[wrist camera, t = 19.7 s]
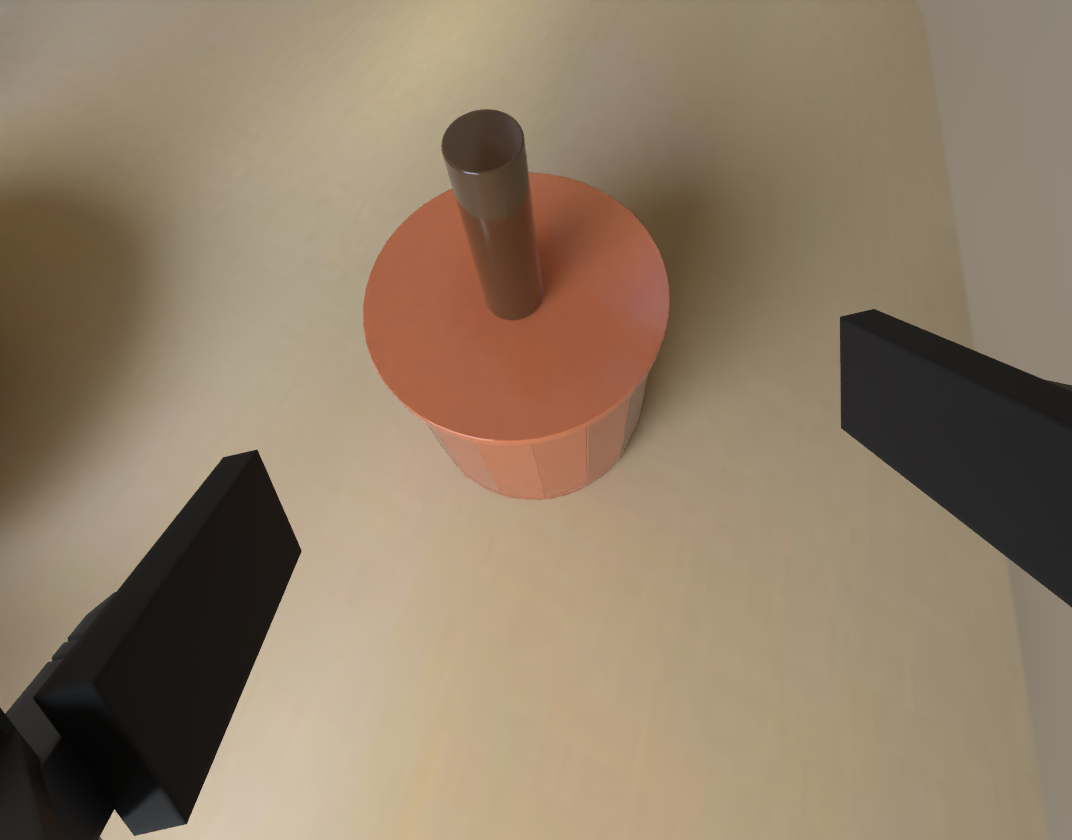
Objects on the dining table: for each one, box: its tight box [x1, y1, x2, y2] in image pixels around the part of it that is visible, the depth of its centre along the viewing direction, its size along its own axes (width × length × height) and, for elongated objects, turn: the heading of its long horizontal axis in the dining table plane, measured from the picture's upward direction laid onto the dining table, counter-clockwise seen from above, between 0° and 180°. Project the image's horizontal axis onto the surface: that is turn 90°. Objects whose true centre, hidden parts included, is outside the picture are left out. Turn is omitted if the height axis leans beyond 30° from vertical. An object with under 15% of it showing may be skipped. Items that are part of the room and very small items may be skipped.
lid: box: [363, 109, 670, 445], centre depth 24 cm, size 14×14×10 cm
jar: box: [425, 374, 648, 499], centre depth 34 cm, size 13×13×12 cm
